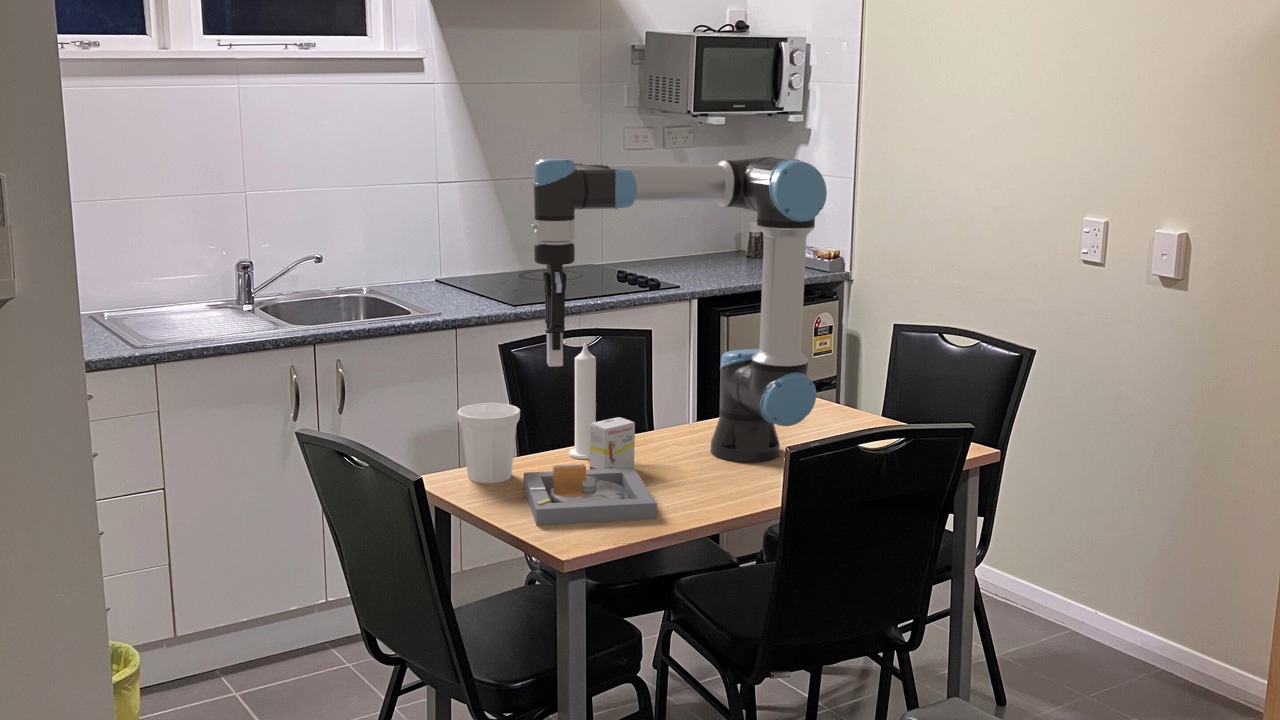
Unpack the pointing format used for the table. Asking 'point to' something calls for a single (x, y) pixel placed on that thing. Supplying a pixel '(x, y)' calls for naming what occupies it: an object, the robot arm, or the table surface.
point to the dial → (581, 486)
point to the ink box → (612, 444)
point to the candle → (584, 402)
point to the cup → (489, 440)
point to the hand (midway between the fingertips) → (554, 364)
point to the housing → (631, 508)
